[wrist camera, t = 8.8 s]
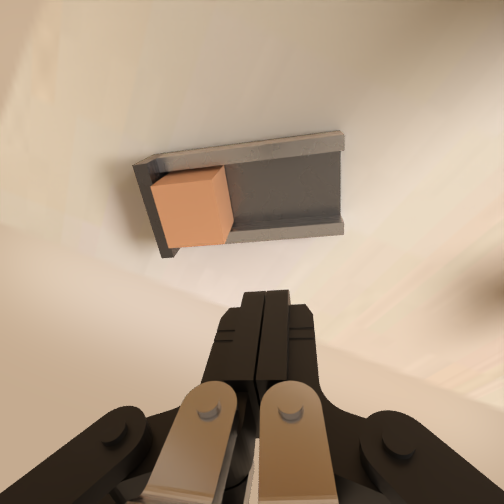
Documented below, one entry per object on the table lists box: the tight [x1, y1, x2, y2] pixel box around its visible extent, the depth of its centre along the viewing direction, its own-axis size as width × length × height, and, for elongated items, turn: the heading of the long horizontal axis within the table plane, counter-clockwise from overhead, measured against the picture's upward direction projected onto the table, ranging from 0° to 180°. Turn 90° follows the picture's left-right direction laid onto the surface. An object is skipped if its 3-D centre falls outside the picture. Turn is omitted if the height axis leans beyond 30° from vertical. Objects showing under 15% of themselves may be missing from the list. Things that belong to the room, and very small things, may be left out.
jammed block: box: [150, 165, 234, 248], centre depth 27 cm, size 5×6×5 cm
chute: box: [132, 130, 344, 258], centre depth 27 cm, size 17×9×4 cm, turn 98°
